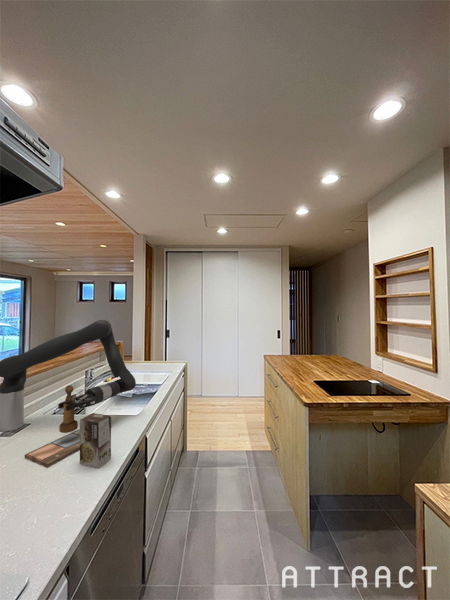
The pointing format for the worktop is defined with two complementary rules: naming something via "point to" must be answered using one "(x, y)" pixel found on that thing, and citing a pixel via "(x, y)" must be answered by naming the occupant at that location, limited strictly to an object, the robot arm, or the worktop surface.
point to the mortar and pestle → (68, 414)
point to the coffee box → (95, 440)
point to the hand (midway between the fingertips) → (62, 407)
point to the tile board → (56, 450)
